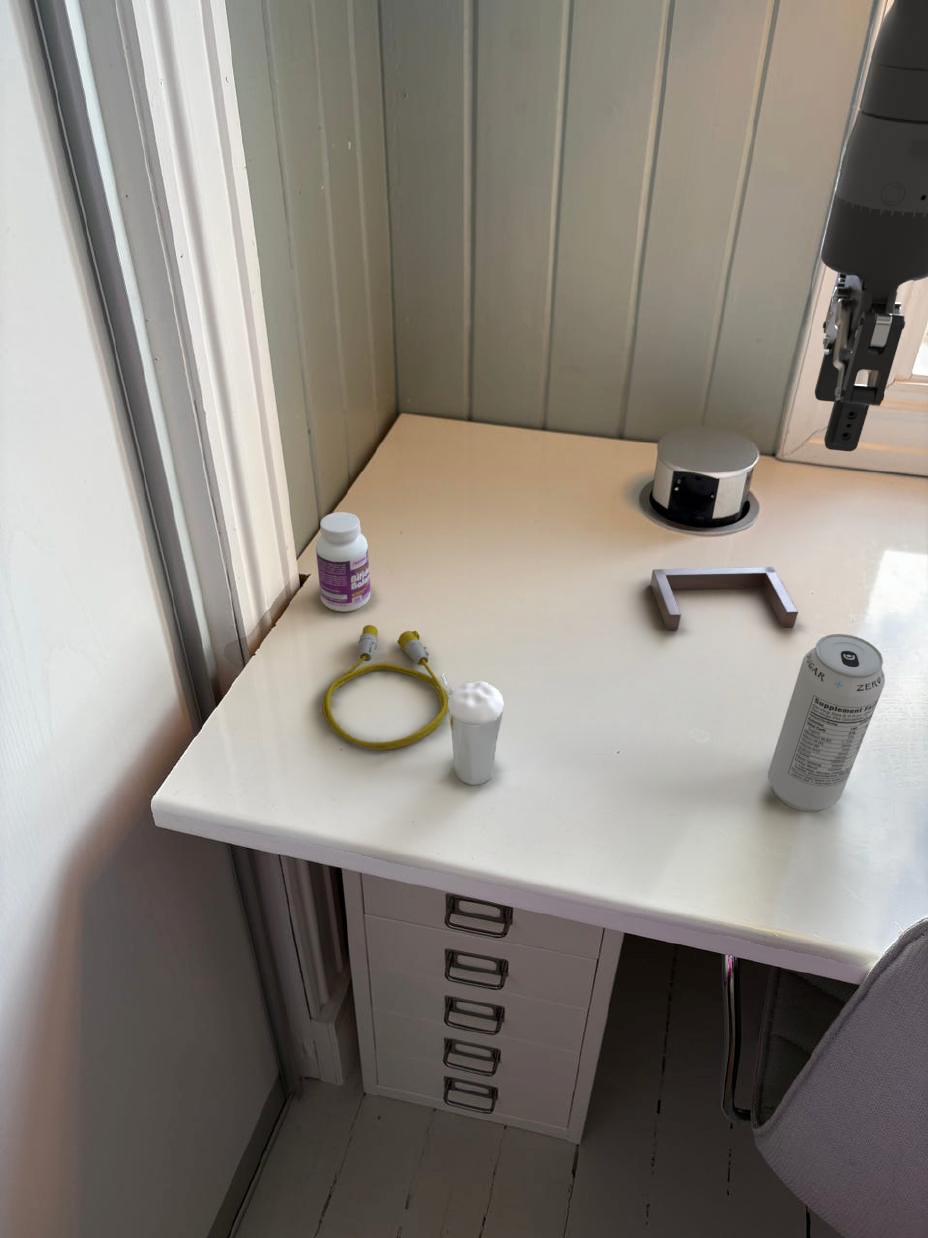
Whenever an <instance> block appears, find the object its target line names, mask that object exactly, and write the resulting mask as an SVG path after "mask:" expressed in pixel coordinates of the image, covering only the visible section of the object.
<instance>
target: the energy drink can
mask: <svg viewBox="0 0 928 1238" xmlns="http://www.w3.org/2000/svg"><path fill="white" fill-rule="evenodd" d="M883 658H884V657H883V656H882V653H881V652H880V651H879V649H878V648H877V647H876V646H875V645H873V644H872V643H870V642H869V641H867V640H865V639H864V638H861V637H859V636H855V635H851V634H846V633H832V634H828V635H825V636H822V637H821V638H820V639H819V640H818V641H817V642H816V645H815V647H813V648H812V649H810V650H809V651H808V652H806V653H805V655H804V656H803V658H802V661H801V663H800V668H799V671H798V674H797V678H796V680H795V684H794V687H793V690H792V694H791V697H790V700H789V703H788V707H787V710H786V713H785V715H784V716H785V717H784V720H783V723H782V727H781V729H780V733H779V736H778V739H777V741H776V746H775V747H774V748H775V749H774V752H773V755H772V758H771V762H770V765H769V767H768V768H769V769H768V772H767V773H768V774H767V777H768V782H769V783H770V786H771V788H772V789H773V792H774V793H775V795H776V796H777V798H779V800H781V801H782V802H783V803H784V804H786V805H787V806H789V807H791V808H793V809H796V810H799V811H801V812H811V813H813V812H814V813H815V812H820V811H822V810H825V809H827V808H830V807H832V806H834V805H836V804H837V803H838V802H839V801H840V799H841V798H842V796H843V793H844V791H845V787H846V786H847V782H848V780H849V777H850V774H851V772H852V770H853V768H854V764H855V762H856V760H857V757H858V755H859V752H860V749H861V746H862V744H863V741H864V739H865V736H866V734H867V731H868V728H869V726H870V724H871V721H872V718H873V715H874V714H875V713H874V712H875V710H876V707H877V705H878V702H879V700H880V698H881V695H882V692H883V689H884V687H885V683H886V677H885V672H884V670H883V663H884V659H883Z"/></svg>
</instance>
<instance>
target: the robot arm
mask: <svg viewBox="0 0 928 1238" xmlns="http://www.w3.org/2000/svg"><path fill="white" fill-rule="evenodd" d="M838 172H839V173H838V177H837V180H836V185H835V189H834V193H833V198H832V202H831V206H830V210H829V214H828V219H827V223H826V227H825V231H824V235H823V239H822V240H823V241H822V245H821V248H820V259H821V261H822V263H823V264H824V265H825V266H826V267H828V269H830V270H832V271H834V272H836V273H837V274H836V279H835V282H834V286H833V289H832V293H831V298H830V301H829V305H828V309H827V312H826V313H827V314H826V317H825V321H823V323H822V329H823V334H825V337H823V338H822V339H823V340H822V345H823V350H824V352H823V357H822V361H821V365H820V368H819V372H818V376H817V377H818V378H817V380H816V385H815V388H814V396H815V399H816V400H817V401H820V402H831V403H833V405H832V409H831V413H830V416H829V419H828V424H827V427H826V431H825V434H824V438H823V441H824V442H823V443H824V446H825V448H826V449H828V450H833V451H841V452H853V451H855V450H857V448H858V446H859V442H860V439H861V436H862V432H863V428H864V426H865V422H866V418H867V416H868V412H869V408H870V406H874V407H881V405H882V402H883V401H884V398H885V392H886V388H887V384H888V381H889V377H890V374H891V372H892V371H891V370H892V368H893V364H894V360H895V357H896V354H897V350H898V347H899V343H900V339H901V336H902V332H903V330H904V329H905V326H906V321H905V319H906V317H905V314H901V313H902V312H901V311H902V303H901V302H896V301H897V296H898V289H899V287H900V286H901V285H903V284H905V283H907V282H910V281H914V282H916V281H920V280H923V279H924V280H925V279H927V278H928V0H893V2H892V4H891V6H890V7H889V9H888V11H887V13H886V14H885V15H884V17H883V20H882V22H881V24H880V27H879V29H878V33H877V35H876V38H875V41H874V44H873V49H872V52H871V56H870V61H869V66H868V69H867V74H866V78H865V82H864V87H863V91H862V94H861V99H860V103H859V109H858V110H857V113H856V117H855V120H854V123H853V126H852V129H851V132H850V134H849V136H848V140H847V142H846V145H845V148H844V152H843V156H842V161H841V164H840V168H839V171H838ZM825 350H826V351H825ZM860 371H865V372H867V374H868V376H867V383H866V384H859V383H856V380H857V377H858V375H859V372H860Z"/></svg>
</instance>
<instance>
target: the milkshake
mask: <svg viewBox="0 0 928 1238" xmlns="http://www.w3.org/2000/svg"><path fill="white" fill-rule="evenodd" d="M440 677H441V679H442V682H443V684H444V687H445V690H446V692H447V694H448V698H449V699H448V716H449V717H448V718H449V723H450V724H449V725H450V731H451V733H450V734H451V743H452V752H453V753H452V754H453V755H452V756H453V765H454V773H455V775H456V776H457V778H458V779H459V781H460V782H462V783H464V784H468V785H470V786H475V785H477V786H478V785H483V784H485V783H486V782H487V781H489V780H491V778H492V777H493V770H494V764H495V757H496V750H497V743H498V737H499V732H500V728H501V724H502V718H503V713H504V709H505V708H504V707H505V701H504V698H503V695H502V693H501V692H500V691H499V689H498V688H496V687H495V686H493V685H490V683H489V684H488V683H487V682H486V681H483V680H477V681H474V682H465V683H463V684H461V685H458V686H457V687H456V688H455V689H454V690H453V691H452V688H451V686H450V684H449V682H448V680H447V677H446V675H445V672H442V673H441V674H440Z"/></svg>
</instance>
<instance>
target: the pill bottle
mask: <svg viewBox="0 0 928 1238" xmlns="http://www.w3.org/2000/svg"><path fill="white" fill-rule="evenodd" d="M319 523H320V524H319V525H320V527H319V528H320V536H319V538H318V539H317V540H316V544H315V554H316V555H315V556H316V564H317V573H318V583H319V585H318V586H319V593H320V600H321V602H322V604H323V605H324V606H325V607H326V608H328V609H330V610H332V611H336V612H345V613H346V612H352V611H356V610H359V609H360V608H362V607H363V606H365V605H366V604H367V603H368V602H369V601H370V598H371V580H370V579H371V576H370V560H369V559H370V557H369V545H368V541H367V538H366V536H364V534H363V533H361V531H362V529H361V523H360V519H359V517H358V516H357V515H355V514H354V513H350V512H345V511H338V512H337V511H336V512H332V513H329V514H327V515H325V516H324V517H323V518H321V520H320V522H319Z"/></svg>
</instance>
